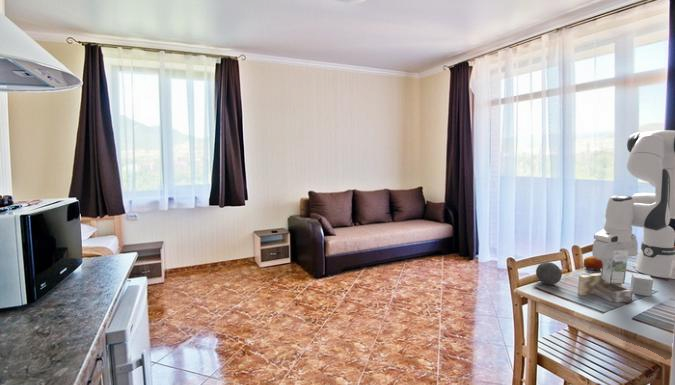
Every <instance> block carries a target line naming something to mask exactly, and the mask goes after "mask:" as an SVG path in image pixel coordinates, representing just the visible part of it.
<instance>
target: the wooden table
mask: <svg viewBox="0 0 675 385" xmlns="http://www.w3.org/2000/svg"><path fill="white" fill-rule="evenodd" d="M577 281H578V282H577V295H579V294H580V296H590V295H595V296H596V297H597V296H598V298H599V297H600V298H602V299H605V300H607V301H609V302H612V303H614V304H615V303H620V302H627V301H631V300H632V299H633V290H631V289H630V288H628V287H625V286H622V285H623V284H614V283H608V282H606V281H605V280H603V279H601V272H596V273H590V274H582V275H578V280H577Z"/></svg>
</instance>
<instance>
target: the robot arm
mask: <svg viewBox="0 0 675 385" xmlns="http://www.w3.org/2000/svg"><path fill="white" fill-rule="evenodd" d="M626 146H627V151H628V152H629V157H628V159H627V164H626V168H627V170H628V172H629V174H631V175H632V176H633V177H635V178H637V179H638V180H642V181H645V182H646V183H649V184H650V185H651V186H653V187H654V188H655V192H654V193H653V192H640V193H639V192H638V193H634V194H633V195H631V196H630V195H626V194H616V195H612V196H610V197H609V198H608V201H607V203H606V210H605V224H604V226H603V229H602V230H600V231H598V232H596V233H595V234H594V235H593V239H594V241H593V244H592V250H591V251H592V252H591V253H592V256H593V257H594V258H596V259H599V260H602V263H603V268H604V269H610V265H609V264H608V261H609V259H613V257H614V250H618V249H626V250H628V258H627V261H628V259H629V258H630V257H636V261H635V264H632V265H633V266H632V267H633V268H635V269H634V270H635V271H637V272H639V273H640V274H643V275H649V276H650V277H651V276H652V277H657V278H664V279H665V278H666V279H672V280H675V230H674V228H673V227H671V226H669V224H670V222H671V219H673V220H675V130H672V129H671V130H670V129H669V130H668V129H667V130H665V129H663V130H661V129H660V130H653V131H645V132H644V131H643V132H642V131H639V132H635V133H633V134H631V135H630V136H629V138H627V143H626ZM633 227H638V228H643V238H642V242H641V244H640V251H638V250H639V249H638V248H639V244H638V240H637V236H636V235H635V234H634V233H633Z"/></svg>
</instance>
